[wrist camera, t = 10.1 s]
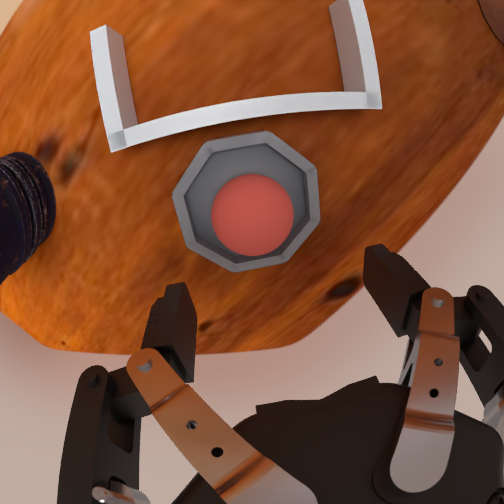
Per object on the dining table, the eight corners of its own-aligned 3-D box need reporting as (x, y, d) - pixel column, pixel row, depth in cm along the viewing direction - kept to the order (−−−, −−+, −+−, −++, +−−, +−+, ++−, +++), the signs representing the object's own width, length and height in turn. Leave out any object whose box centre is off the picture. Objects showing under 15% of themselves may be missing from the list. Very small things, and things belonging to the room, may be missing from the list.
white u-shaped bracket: (341, 8, 14) (361, -5, 11) (359, 107, 18) (382, 109, 15) (108, 41, 13) (89, 31, 10) (127, 145, 18) (111, 152, 15)
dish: (304, 124, 19) (312, 125, 17) (315, 245, 24) (321, 255, 22) (165, 149, 18) (160, 152, 17) (198, 268, 24) (196, 279, 22)
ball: (279, 160, 19) (299, 179, 15) (287, 227, 22) (306, 262, 17) (205, 174, 19) (200, 197, 14) (220, 240, 22) (221, 279, 17)
